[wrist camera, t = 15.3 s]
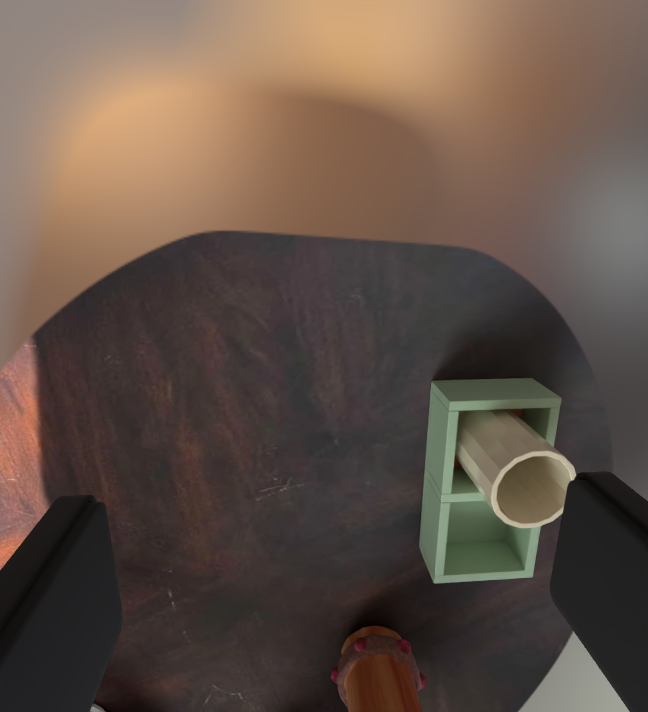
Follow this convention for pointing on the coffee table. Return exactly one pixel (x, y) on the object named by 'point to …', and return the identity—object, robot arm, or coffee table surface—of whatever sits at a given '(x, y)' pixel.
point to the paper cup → (512, 467)
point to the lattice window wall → (96, 708)
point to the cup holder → (460, 495)
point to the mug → (378, 672)
